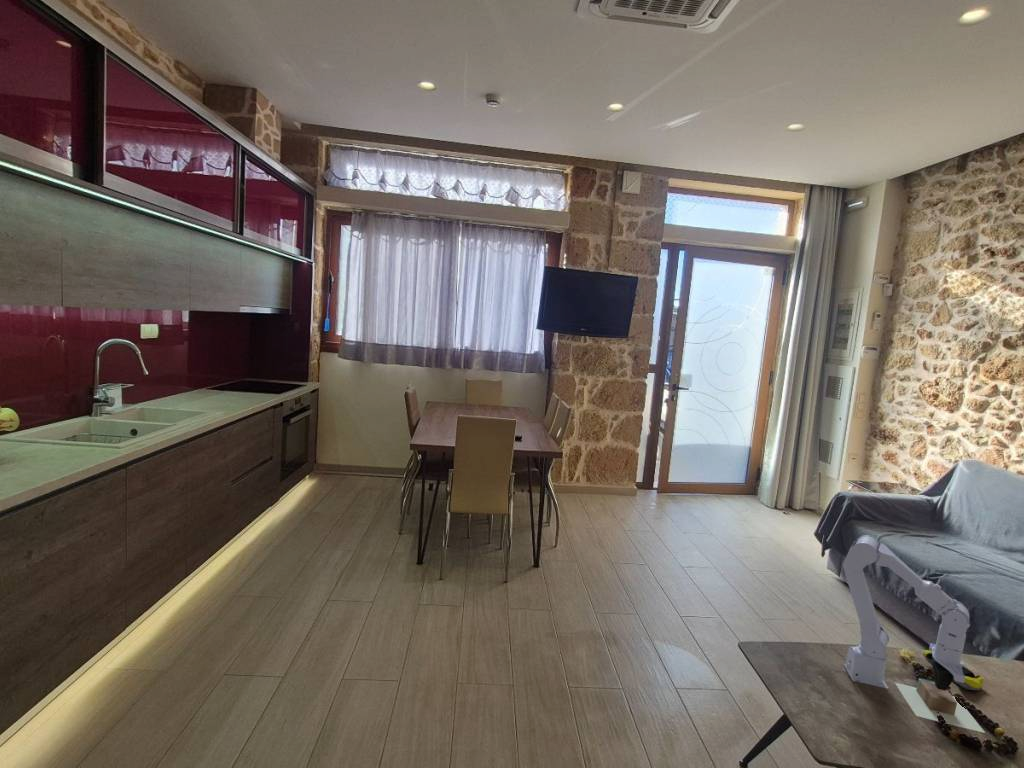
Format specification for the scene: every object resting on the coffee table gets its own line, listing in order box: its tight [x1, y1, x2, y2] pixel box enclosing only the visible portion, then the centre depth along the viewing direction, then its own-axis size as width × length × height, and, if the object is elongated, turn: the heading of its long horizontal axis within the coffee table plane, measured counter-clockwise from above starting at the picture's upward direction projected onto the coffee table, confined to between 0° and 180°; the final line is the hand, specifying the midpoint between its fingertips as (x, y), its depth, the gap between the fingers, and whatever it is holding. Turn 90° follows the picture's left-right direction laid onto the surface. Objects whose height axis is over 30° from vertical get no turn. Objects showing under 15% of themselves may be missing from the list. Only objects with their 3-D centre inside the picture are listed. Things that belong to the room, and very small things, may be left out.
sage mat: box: [894, 682, 986, 734], centre depth 146 cm, size 16×14×1 cm
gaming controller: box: [922, 649, 985, 691], centre depth 159 cm, size 15×6×10 cm
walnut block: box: [915, 678, 957, 715], centre depth 147 cm, size 6×4×8 cm
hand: (940, 688), depth 145 cm, fingers closed
